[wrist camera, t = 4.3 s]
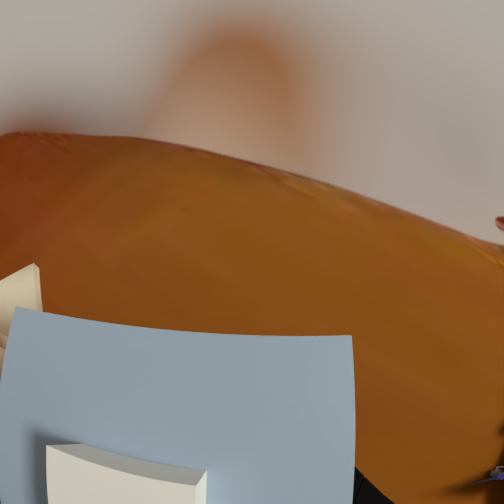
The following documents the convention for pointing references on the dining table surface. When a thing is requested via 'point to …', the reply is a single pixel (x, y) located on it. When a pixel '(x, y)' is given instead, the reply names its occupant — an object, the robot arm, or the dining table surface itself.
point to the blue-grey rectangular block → (173, 415)
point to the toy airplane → (496, 473)
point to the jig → (17, 300)
